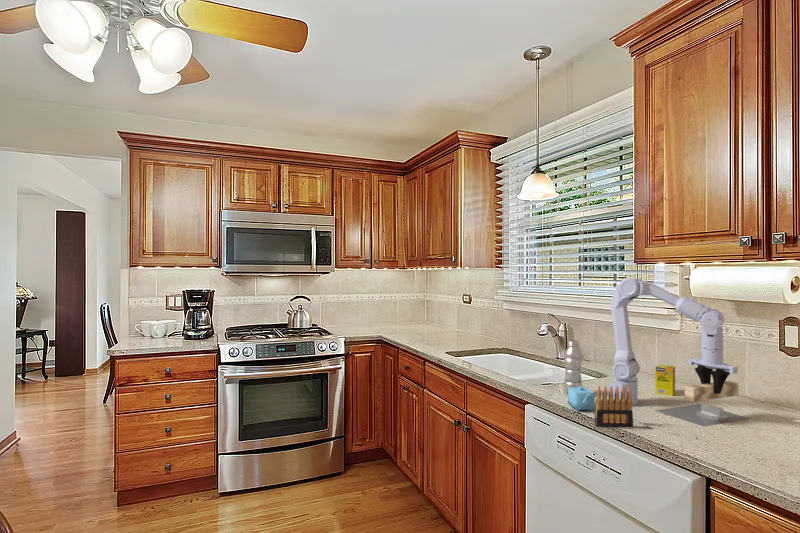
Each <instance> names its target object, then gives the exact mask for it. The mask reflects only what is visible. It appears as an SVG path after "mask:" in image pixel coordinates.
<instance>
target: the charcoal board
mask: <svg viewBox="0 0 800 533" xmlns="http://www.w3.org/2000/svg"><path fill="white" fill-rule="evenodd" d="M701 404H702V403H698V404H697V403H696V404H692V405H691V404H689V405H685V406H684V405H683V406H676V407H670V408H662V409H661V408H660V409H655V410H654V411H655V412H658V413H661V414H665V415H666V416H671V417H673V418H676V419H678V420H679V419H680V420H682V421H686V422H688V423H692V424H694V425H695V424H696V425H697V426H700V427H708V426H714V425H721V424H726V423H733V422H738V421H745V420H751V419H752V418H750V417H747V416H744V415H739V414H736V413H734V412H731V411H730V412H729V411H726V410H724V412H723V415H724V416H727V417H728V420H725V421H719V422H718V421H714V420H711V419H708V418H705V417H701V416H698V415H697V412H699V411H701Z"/></svg>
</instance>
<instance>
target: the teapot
mask: <svg viewBox="0 0 800 533" xmlns="http://www.w3.org/2000/svg"><path fill="white" fill-rule="evenodd" d="M595 393H596V392H594V391H592V390H591V389H589V388H587V387H584V386H583V387H581V386H579V387H571V388H568V393H567V404H568V405H569V406H571V407H572V409H575V411H576V412H581V410H586V411H587V412H591V410H595V408H596V396H595Z"/></svg>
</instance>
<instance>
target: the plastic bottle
mask: <svg viewBox="0 0 800 533" xmlns="http://www.w3.org/2000/svg"><path fill="white" fill-rule="evenodd" d="M563 359H564V366H565V367H564V368H565V376H564V382H563V389H564V391H565V393H566V394H568V388H571V387H579V386H581V387H584V386H583V383H582V361H583V354H582V352H581V350H580V349H579V340H574V339H570V340H568V341H567V348H566V349H565V351H564V353H563Z"/></svg>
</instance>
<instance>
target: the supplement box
mask: <svg viewBox="0 0 800 533" xmlns="http://www.w3.org/2000/svg"><path fill="white" fill-rule="evenodd" d="M654 368H655V370H654V371H655V372H654V373H655V374H654V375H655V376H654V377H655V379H654V381H655V382H654V383H655V385H654V388H655V390H654V391H655V393H654V394H657V395H662V396H671V397H673V396H674V395H675V394H676V366H675V365H674V366H673V365H665V364H657V365H656V366H655V367H654Z"/></svg>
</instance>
